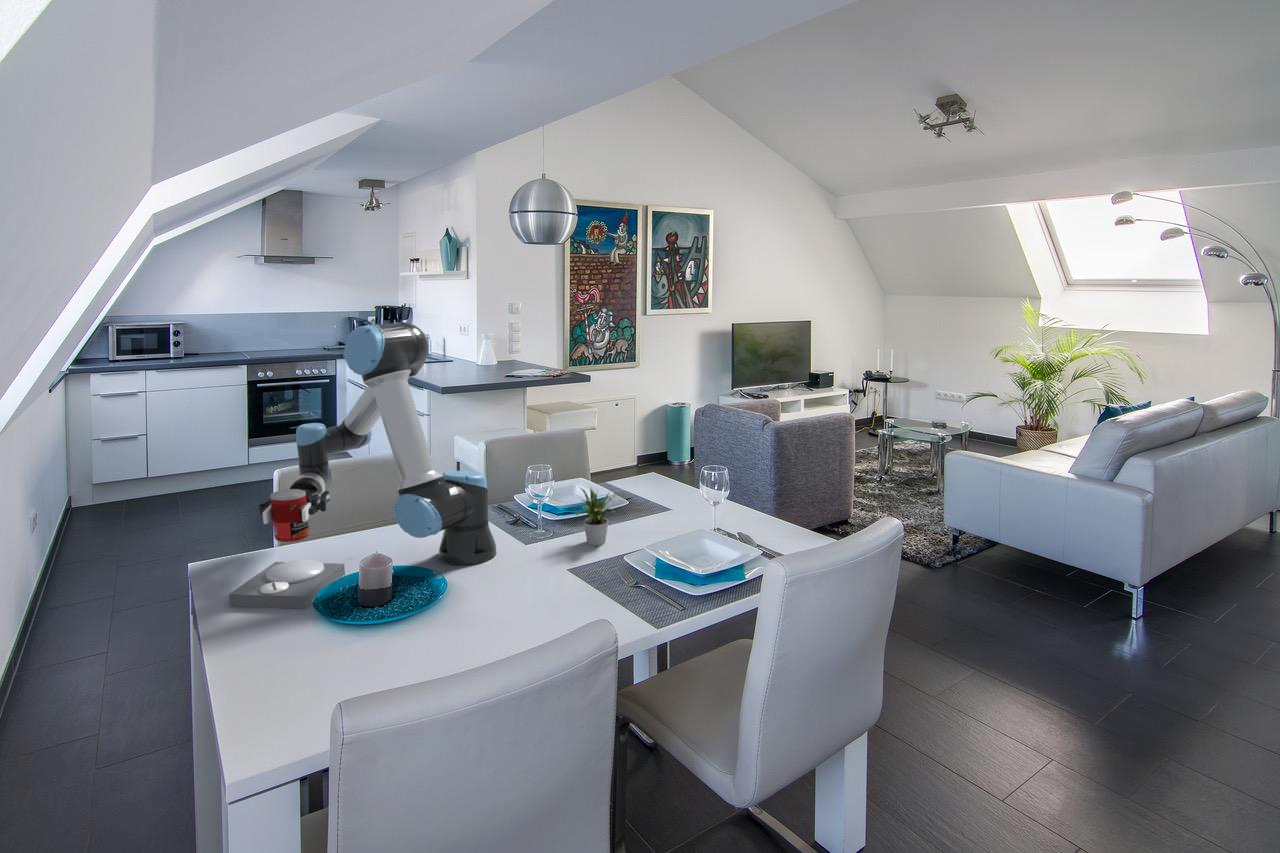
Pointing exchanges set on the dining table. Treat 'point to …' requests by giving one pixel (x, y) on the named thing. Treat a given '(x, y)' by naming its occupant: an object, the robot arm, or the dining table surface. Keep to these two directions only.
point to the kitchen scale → (286, 584)
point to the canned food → (289, 515)
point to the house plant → (595, 519)
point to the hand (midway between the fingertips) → (284, 517)
